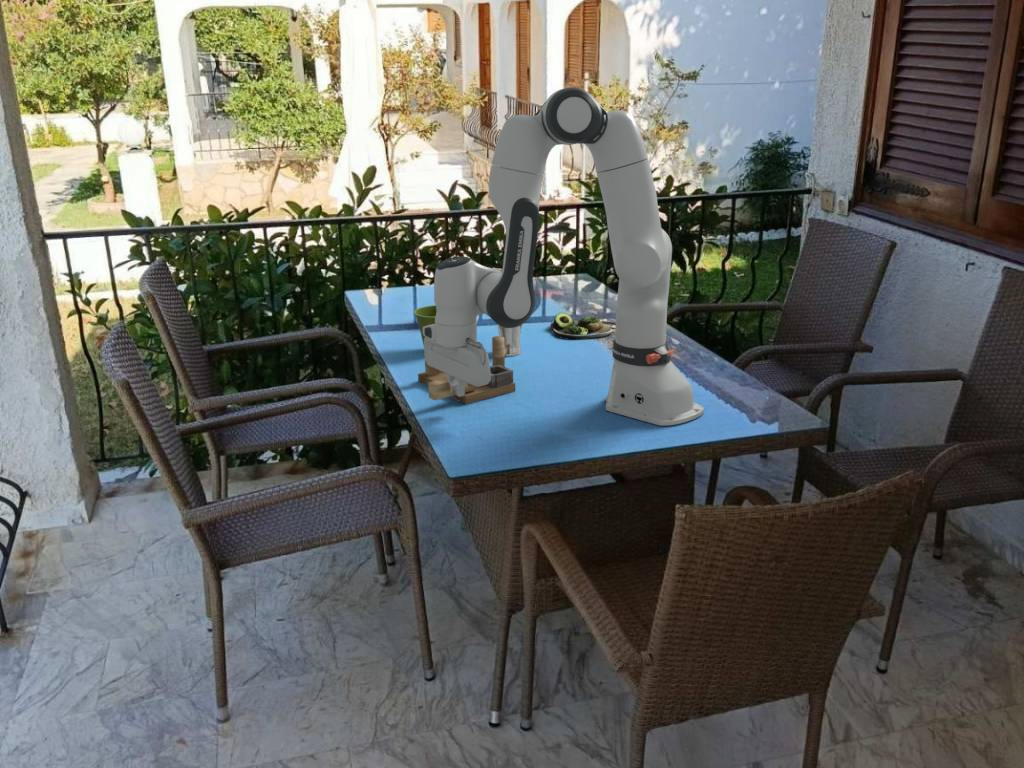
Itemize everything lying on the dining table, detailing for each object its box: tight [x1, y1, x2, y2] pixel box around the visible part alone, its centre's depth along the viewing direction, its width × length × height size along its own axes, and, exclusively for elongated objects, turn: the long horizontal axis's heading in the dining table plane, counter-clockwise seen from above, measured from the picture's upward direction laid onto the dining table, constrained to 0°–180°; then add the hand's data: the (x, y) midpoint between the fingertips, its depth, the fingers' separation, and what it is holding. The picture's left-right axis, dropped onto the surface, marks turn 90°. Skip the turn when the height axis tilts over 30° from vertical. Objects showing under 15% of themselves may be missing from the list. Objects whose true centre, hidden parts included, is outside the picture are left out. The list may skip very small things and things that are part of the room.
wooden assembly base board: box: [417, 360, 516, 405], centre depth 218 cm, size 20×14×7 cm
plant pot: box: [413, 304, 436, 346], centre depth 243 cm, size 12×12×11 cm
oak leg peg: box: [491, 335, 506, 367], centre depth 227 cm, size 3×3×9 cm
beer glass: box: [496, 323, 523, 357], centre depth 241 cm, size 7×7×15 cm
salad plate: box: [550, 312, 616, 340], centre depth 263 cm, size 19×18×5 cm
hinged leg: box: [427, 378, 475, 401], centre depth 207 cm, size 12×3×4 cm, turn 128°
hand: (457, 394), depth 202 cm, fingers closed
